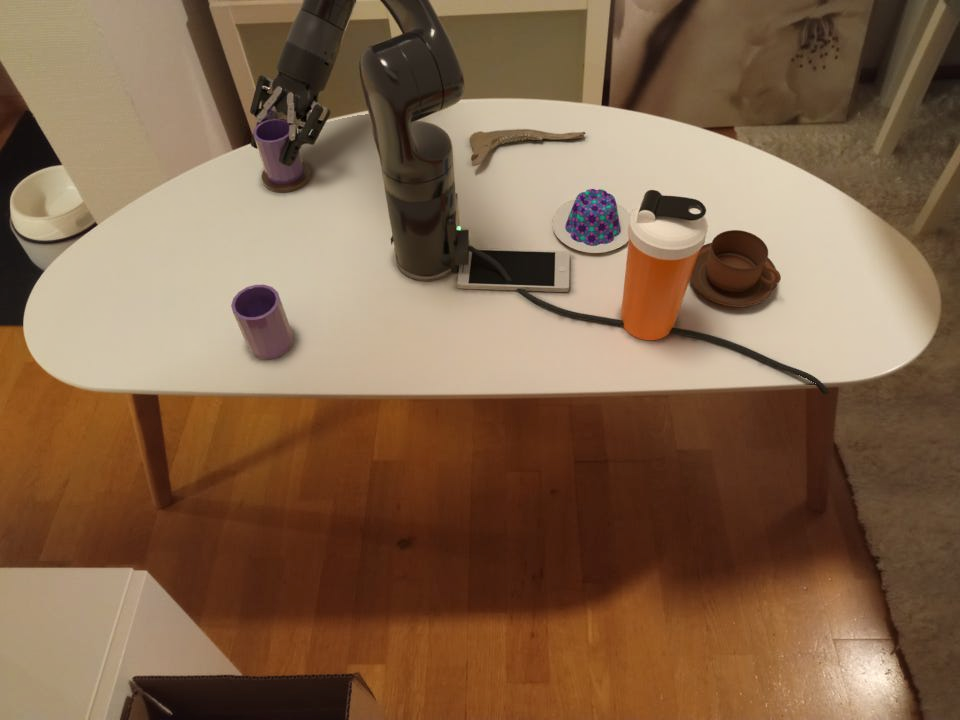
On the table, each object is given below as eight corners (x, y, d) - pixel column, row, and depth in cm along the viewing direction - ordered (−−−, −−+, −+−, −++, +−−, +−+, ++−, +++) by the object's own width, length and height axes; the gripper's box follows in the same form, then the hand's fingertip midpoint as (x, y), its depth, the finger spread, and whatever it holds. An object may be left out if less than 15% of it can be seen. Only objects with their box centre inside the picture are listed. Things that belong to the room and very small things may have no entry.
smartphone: (568, 292, 105) (569, 287, 104) (457, 288, 106) (456, 283, 105) (569, 255, 109) (569, 251, 108) (462, 252, 110) (461, 247, 109)
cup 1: (309, 175, 121) (298, 133, 114) (275, 189, 119) (262, 147, 113) (295, 156, 124) (283, 113, 117) (261, 169, 122) (247, 126, 116)
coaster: (313, 161, 124) (312, 157, 123) (306, 192, 119) (305, 188, 119) (267, 162, 124) (266, 158, 124) (258, 193, 120) (257, 189, 119)
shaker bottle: (679, 350, 98) (712, 236, 82) (610, 341, 99) (629, 226, 83) (682, 300, 103) (713, 183, 87) (616, 291, 105) (635, 175, 89)
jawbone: (452, 146, 126) (451, 135, 125) (561, 114, 131) (561, 103, 130) (474, 174, 120) (473, 163, 119) (587, 139, 125) (588, 128, 124)
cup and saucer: (775, 258, 107) (788, 225, 103) (772, 321, 100) (785, 289, 96) (689, 244, 110) (698, 212, 105) (680, 305, 103) (688, 273, 98)
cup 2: (297, 325, 103) (283, 284, 96) (289, 359, 99) (274, 319, 93) (253, 325, 103) (237, 284, 97) (244, 359, 99) (226, 319, 93)
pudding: (535, 227, 113) (536, 199, 109) (590, 190, 118) (593, 162, 113) (595, 269, 107) (598, 242, 103) (650, 228, 112) (656, 200, 108)
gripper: (261, 26, 113) (221, 133, 117) (328, 58, 107) (284, 169, 111) (295, 44, 119) (257, 144, 123) (360, 75, 114) (318, 179, 118)
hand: (270, 155), depth 117 cm, fingers closed on cup 1, 6 cm apart
